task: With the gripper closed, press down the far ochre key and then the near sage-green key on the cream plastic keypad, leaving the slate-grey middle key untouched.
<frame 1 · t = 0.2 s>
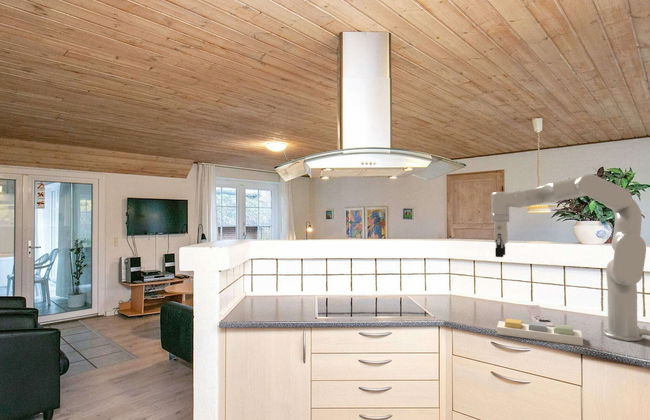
hand: (500, 255, 178), 31 cm above the countertop, tool pointing down, fingers open, 9 cm apart
keypad: (538, 336, 159), on the countertop
mobile phone: (540, 324, 176), on the countertop
key ochre: (513, 324, 163), point 4 cm above the countertop, slide at 0.0 cm
key slate: (537, 326, 159), point 4 cm above the countertop, slide at 0.0 cm
key sage: (563, 330, 154), point 4 cm above the countertop, slide at 0.0 cm
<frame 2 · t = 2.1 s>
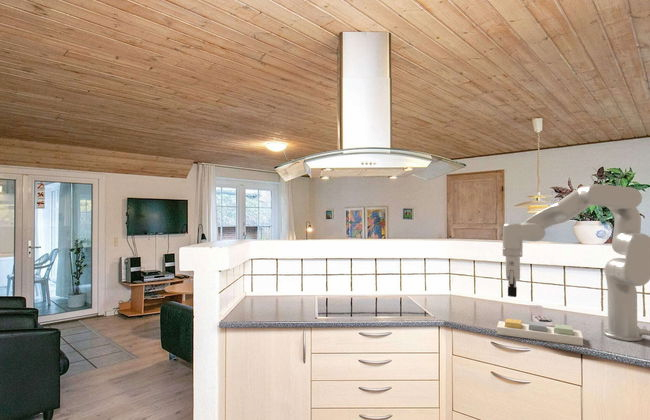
hand: (512, 296, 163), 15 cm above the countertop, tool pointing down, fingers closed
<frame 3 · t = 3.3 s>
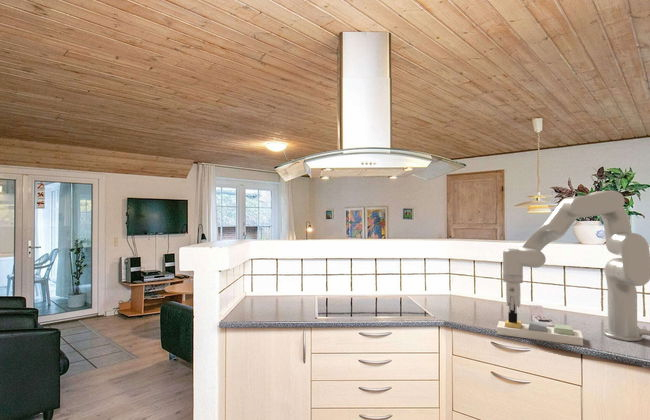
hand: (512, 321, 163), 5 cm above the countertop, tool pointing down, fingers closed
key ochre: (513, 325, 163), point 3 cm above the countertop, slide at 0.4 cm, touching gripper
everything else where it was.
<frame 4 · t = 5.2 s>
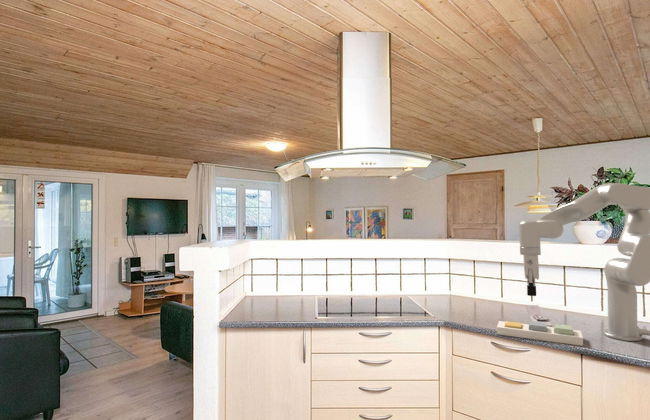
hand: (531, 295, 160), 16 cm above the countertop, tool pointing down, fingers closed
key ochre: (513, 326, 163), point 3 cm above the countertop, slide at 1.2 cm
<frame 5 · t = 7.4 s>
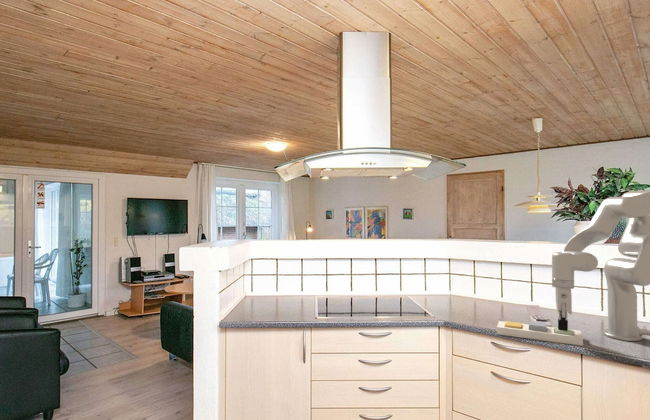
hand: (562, 329, 154), 4 cm above the countertop, tool pointing down, fingers closed
key sage: (563, 332, 154), point 3 cm above the countertop, slide at 1.1 cm
everything else where it was.
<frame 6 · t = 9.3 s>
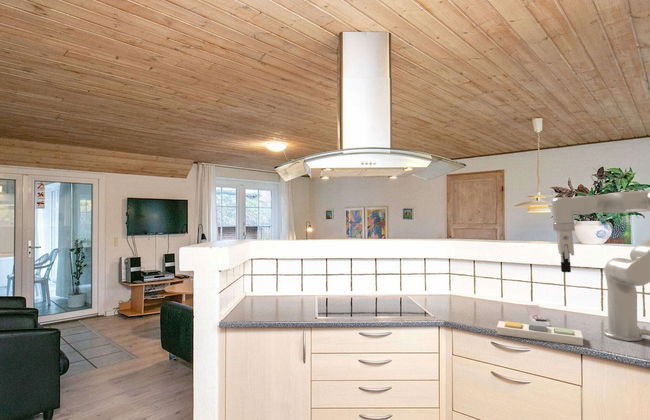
hand: (566, 271, 160), 26 cm above the countertop, tool pointing down, fingers closed
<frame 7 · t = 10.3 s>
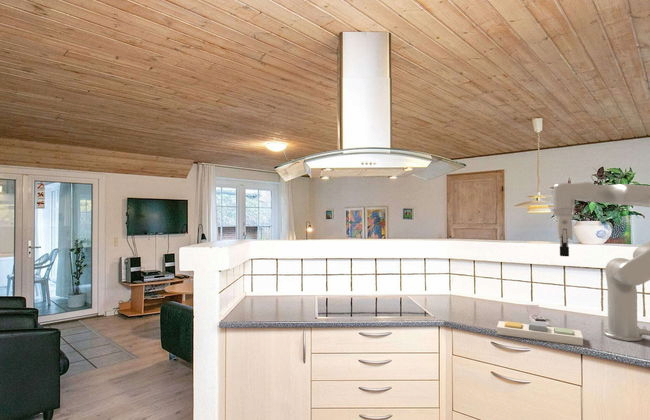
hand: (564, 255, 164), 32 cm above the countertop, tool pointing down, fingers closed
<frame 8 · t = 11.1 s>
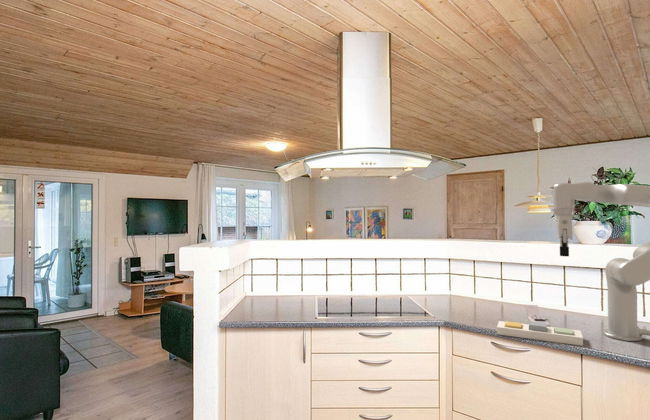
hand: (564, 255, 164), 32 cm above the countertop, tool pointing down, fingers closed
at the end: key ochre slide at 1.2 cm; key sage slide at 1.2 cm; key slate slide at 0.0 cm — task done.
